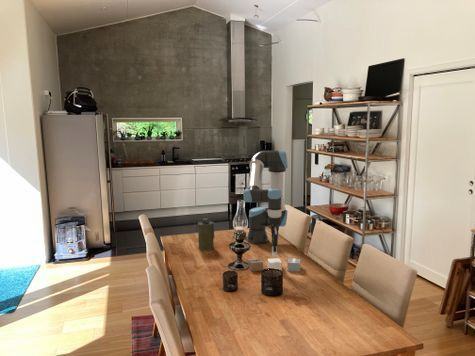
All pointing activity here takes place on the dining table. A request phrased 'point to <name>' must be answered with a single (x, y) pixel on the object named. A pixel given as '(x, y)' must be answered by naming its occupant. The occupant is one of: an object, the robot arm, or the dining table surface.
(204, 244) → the canister
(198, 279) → the dining table surface
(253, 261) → the walnut block
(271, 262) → the plain block
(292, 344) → the dining table surface
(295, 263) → the grey block
